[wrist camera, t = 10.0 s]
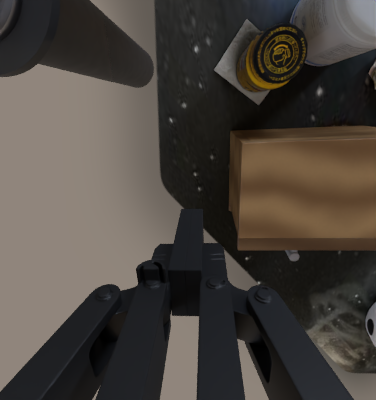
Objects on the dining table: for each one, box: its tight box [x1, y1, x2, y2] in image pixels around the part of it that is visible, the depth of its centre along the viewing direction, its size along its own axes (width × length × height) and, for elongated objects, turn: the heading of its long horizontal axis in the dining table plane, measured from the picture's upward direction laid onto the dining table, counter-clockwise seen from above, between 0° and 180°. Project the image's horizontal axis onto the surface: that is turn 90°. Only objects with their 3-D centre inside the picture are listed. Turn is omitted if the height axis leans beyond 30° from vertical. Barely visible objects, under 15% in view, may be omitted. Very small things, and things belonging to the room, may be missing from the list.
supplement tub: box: [290, 0, 376, 66], centre depth 25 cm, size 10×10×15 cm
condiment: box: [214, 19, 308, 105], centre depth 28 cm, size 7×8×12 cm
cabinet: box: [229, 125, 376, 250], centre depth 33 cm, size 14×20×13 cm
